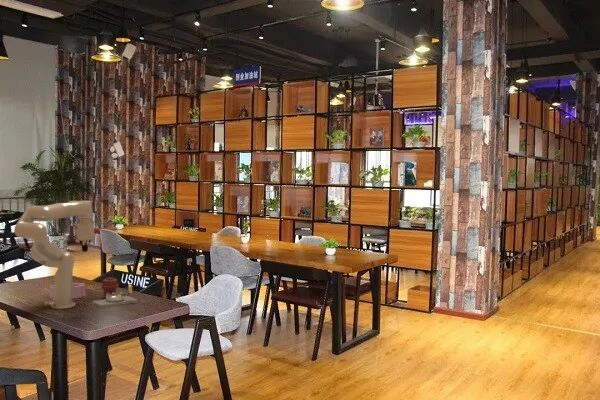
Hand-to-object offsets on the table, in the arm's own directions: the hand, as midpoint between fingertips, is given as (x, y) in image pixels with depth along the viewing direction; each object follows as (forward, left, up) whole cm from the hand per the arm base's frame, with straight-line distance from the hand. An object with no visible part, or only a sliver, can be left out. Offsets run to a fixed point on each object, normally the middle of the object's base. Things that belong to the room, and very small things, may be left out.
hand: (84, 251), depth 321 cm
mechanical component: (+13, -6, -29) cm, 33 cm away
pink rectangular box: (-5, +15, -30) cm, 33 cm away
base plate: (+10, -20, -29) cm, 37 cm away
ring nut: (+12, -21, -27) cm, 36 cm away
